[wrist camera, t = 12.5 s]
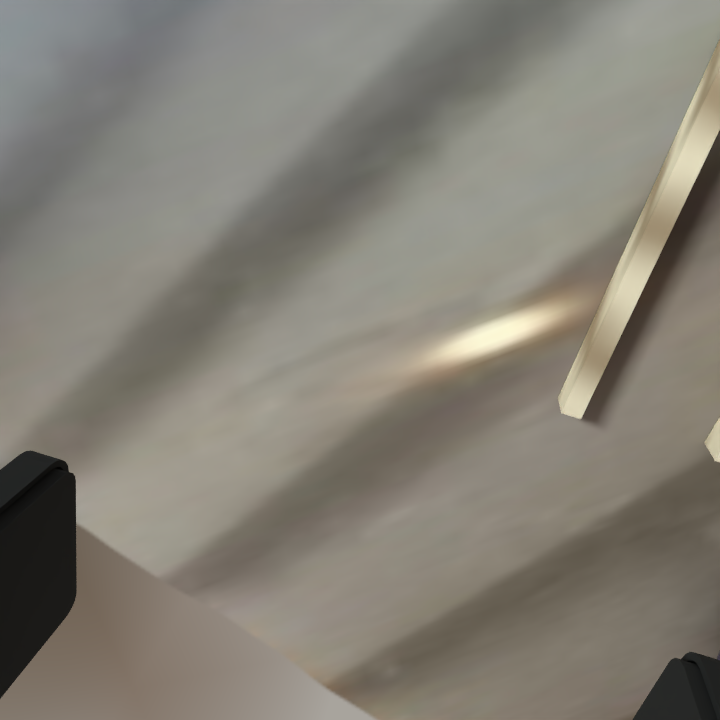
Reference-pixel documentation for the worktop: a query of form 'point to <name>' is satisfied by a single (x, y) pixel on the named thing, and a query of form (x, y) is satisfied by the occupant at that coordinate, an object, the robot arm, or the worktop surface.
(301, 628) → the worktop surface
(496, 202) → the worktop surface
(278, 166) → the worktop surface
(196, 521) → the worktop surface
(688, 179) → the rail channel
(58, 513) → the robot arm
